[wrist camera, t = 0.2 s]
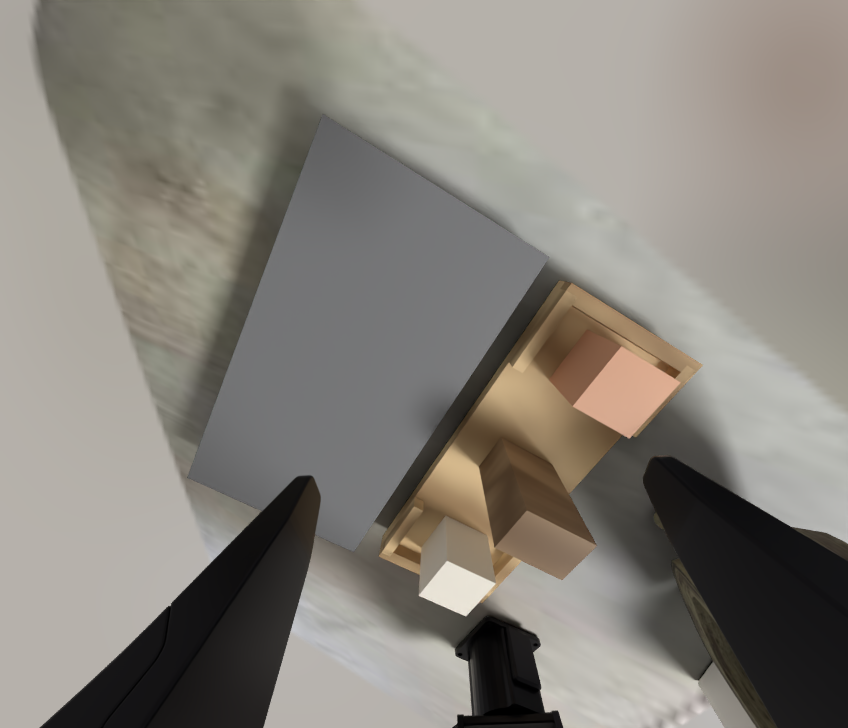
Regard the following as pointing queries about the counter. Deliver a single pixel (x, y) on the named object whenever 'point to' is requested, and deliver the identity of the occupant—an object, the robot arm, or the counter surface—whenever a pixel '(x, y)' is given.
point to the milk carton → (723, 700)
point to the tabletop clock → (717, 641)
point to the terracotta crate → (611, 383)
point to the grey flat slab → (358, 334)
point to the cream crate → (456, 567)
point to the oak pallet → (528, 447)
